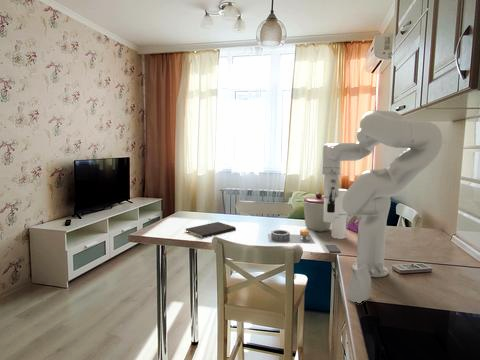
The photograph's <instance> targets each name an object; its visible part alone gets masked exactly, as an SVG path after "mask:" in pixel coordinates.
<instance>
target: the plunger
mask: <svg viewBox="0 0 480 360" xmlns="http://www.w3.org/2000/svg"><path fill="white" fill-rule="evenodd" d="M299 235H301V236H303V238H302V240H307V238H306V236H309V235H310V230H309V229H300V230H299Z"/></svg>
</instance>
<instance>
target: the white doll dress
mask: <svg viewBox="0 0 480 360" xmlns="http://www.w3.org/2000/svg"><path fill="white" fill-rule="evenodd" d="M352 273H353V274H352V275H351V277H350V279H349V280H348V292H347V293H348V294H347V300H348V301H349V302H352V301H353V303H354V302H357V303H361V302H362V301H364V300H366V301H368V300H369V299H371V295H372V294H371V293H372V277H370V274H369V272H368V269H367V265H365V266H362V267H360V268H358V269H356V270H353V272H352ZM364 302H365V301H364ZM357 303H356V304H357ZM361 304H362V303H361Z"/></svg>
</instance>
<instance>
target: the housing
mask: <svg viewBox="0 0 480 360" xmlns="http://www.w3.org/2000/svg"><path fill="white" fill-rule="evenodd" d="M267 239H268V243H280V244H281V243H282V244H283V243H284V244H286V243H287V244H316V242H315V240H314V239H313V238H312V236H311V234H309V236H306V239H303V236H301V235H300V234H290V231H288V230H285V229H274V230H272V231H271V233H268V234H267Z"/></svg>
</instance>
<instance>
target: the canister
mask: <svg viewBox="0 0 480 360" xmlns="http://www.w3.org/2000/svg"><path fill="white" fill-rule="evenodd" d="M302 203H303V212H304V214H303V215H304V222H305V223H304V224H305V227H306V229H307V230H312V231H314V232H326V231H329V230H330V228H331V227H332V222H324V221H323V214H324V196H323V194H322V193H321V192H316V193H315V196H309V197H305V198H304V199H302Z"/></svg>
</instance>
